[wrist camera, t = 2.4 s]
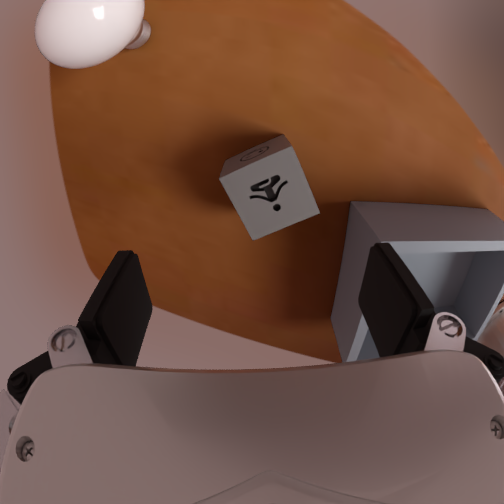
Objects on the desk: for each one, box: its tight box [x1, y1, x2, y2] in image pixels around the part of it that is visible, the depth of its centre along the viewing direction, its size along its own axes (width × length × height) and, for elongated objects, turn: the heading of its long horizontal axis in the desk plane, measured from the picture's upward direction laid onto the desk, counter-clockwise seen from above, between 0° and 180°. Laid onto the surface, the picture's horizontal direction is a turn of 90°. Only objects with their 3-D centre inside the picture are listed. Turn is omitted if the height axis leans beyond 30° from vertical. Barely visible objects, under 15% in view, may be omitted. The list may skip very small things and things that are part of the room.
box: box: [331, 201, 504, 362], centre depth 24 cm, size 18×14×7 cm
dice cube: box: [219, 134, 320, 240], centre depth 20 cm, size 5×5×5 cm
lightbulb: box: [35, 0, 151, 69], centre depth 11 cm, size 6×6×11 cm
